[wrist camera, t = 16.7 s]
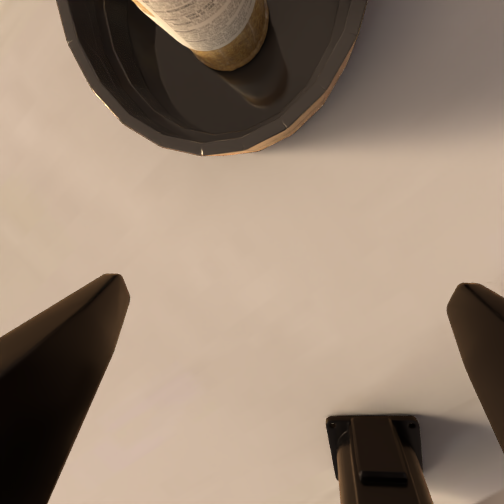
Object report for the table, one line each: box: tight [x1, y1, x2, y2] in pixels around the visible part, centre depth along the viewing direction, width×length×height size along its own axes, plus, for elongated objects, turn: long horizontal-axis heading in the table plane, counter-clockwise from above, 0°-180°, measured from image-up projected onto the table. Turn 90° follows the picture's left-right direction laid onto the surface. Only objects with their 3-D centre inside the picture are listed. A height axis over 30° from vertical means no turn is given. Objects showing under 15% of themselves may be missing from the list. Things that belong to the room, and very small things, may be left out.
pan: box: [56, 0, 368, 156], centre depth 13 cm, size 13×13×4 cm
